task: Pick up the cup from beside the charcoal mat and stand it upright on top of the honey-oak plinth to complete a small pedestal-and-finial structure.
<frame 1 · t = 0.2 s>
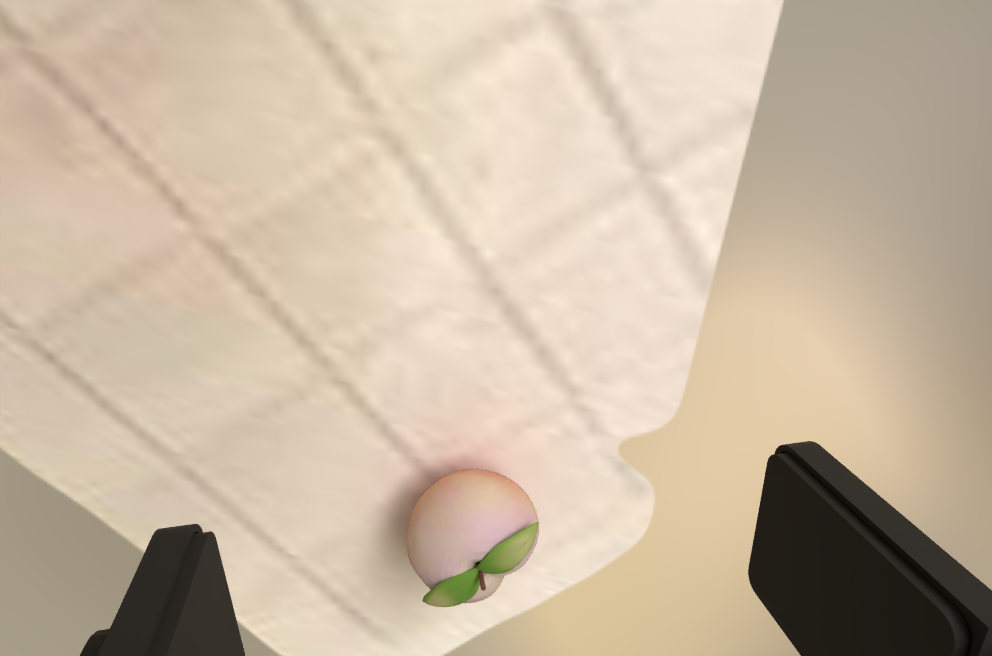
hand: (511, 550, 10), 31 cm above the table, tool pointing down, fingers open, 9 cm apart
decorative fruit: (458, 486, 48), on the table
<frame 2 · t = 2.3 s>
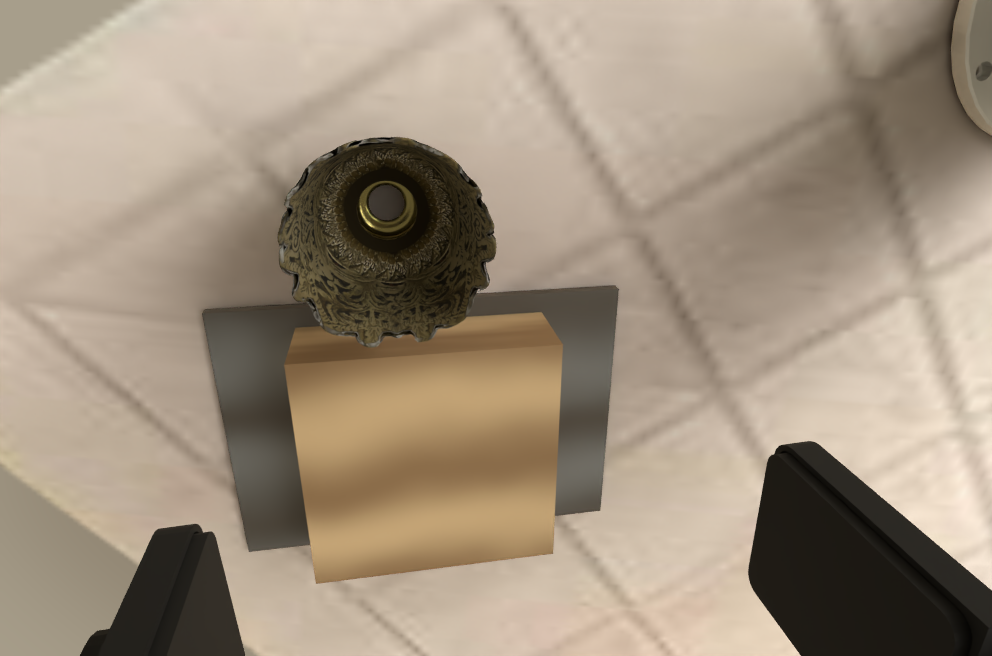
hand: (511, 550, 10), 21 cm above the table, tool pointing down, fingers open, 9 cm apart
cup: (386, 201, 29), on the table
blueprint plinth: (426, 420, 33), on the table
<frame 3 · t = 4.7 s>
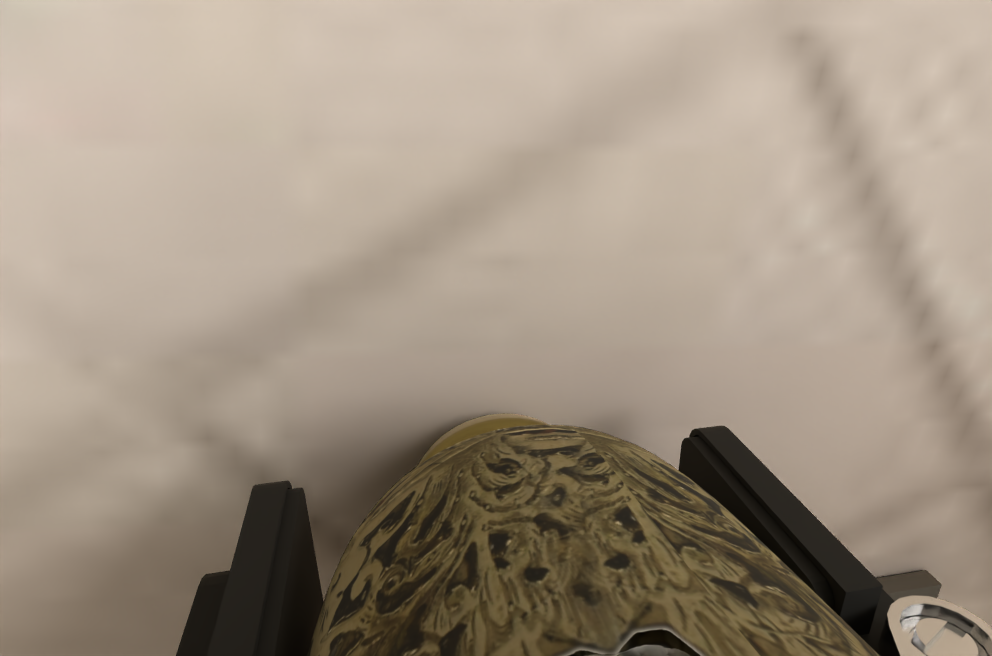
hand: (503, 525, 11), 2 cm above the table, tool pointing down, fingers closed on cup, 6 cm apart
cup: (491, 470, 13), on the table, touching gripper
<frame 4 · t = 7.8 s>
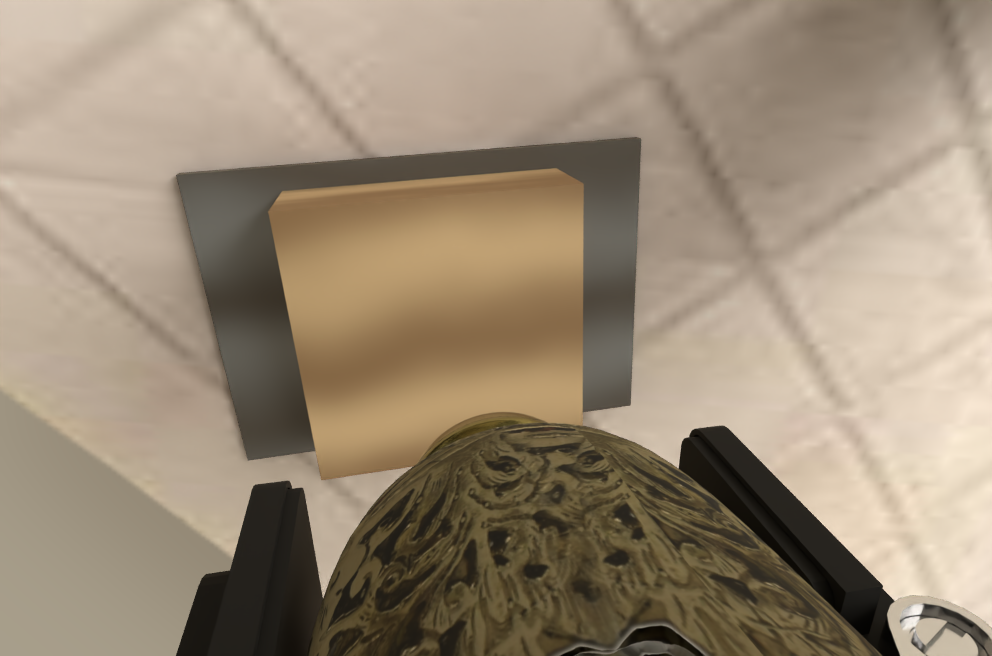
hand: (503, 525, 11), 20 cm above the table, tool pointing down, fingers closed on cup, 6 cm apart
cup: (490, 469, 13), point 18 cm above the table, touching gripper
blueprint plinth: (434, 302, 30), on the table
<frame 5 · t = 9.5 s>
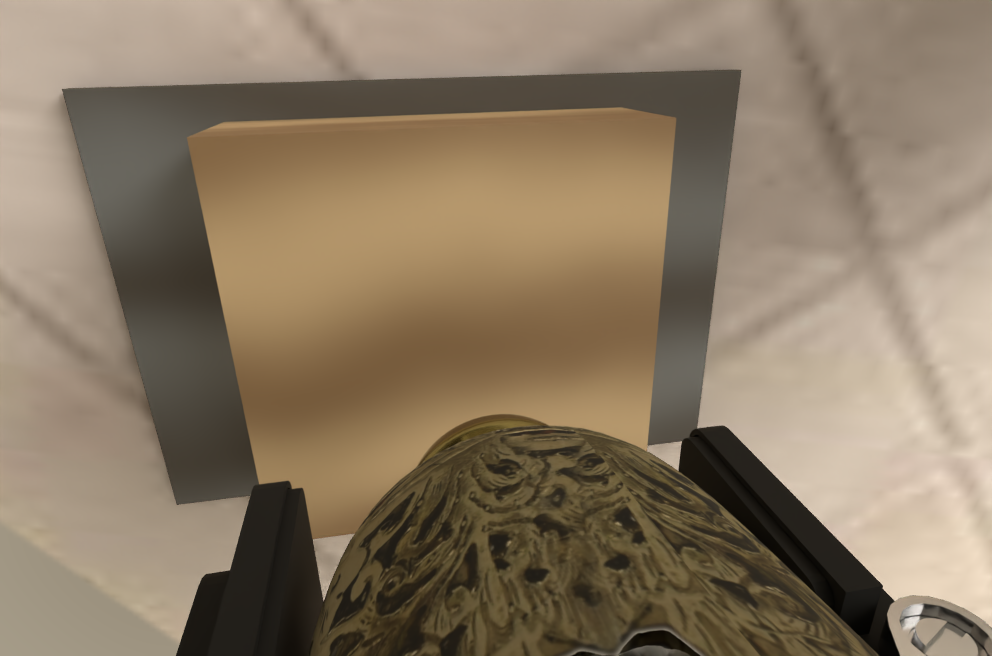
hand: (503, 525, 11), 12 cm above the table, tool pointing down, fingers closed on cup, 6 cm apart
cup: (490, 471, 13), point 10 cm above the table, touching gripper
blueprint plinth: (441, 294, 22), on the table
when the fingers open (7 cm above the table, at t = 10.8 s): cup drops 1 cm, resting on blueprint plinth.
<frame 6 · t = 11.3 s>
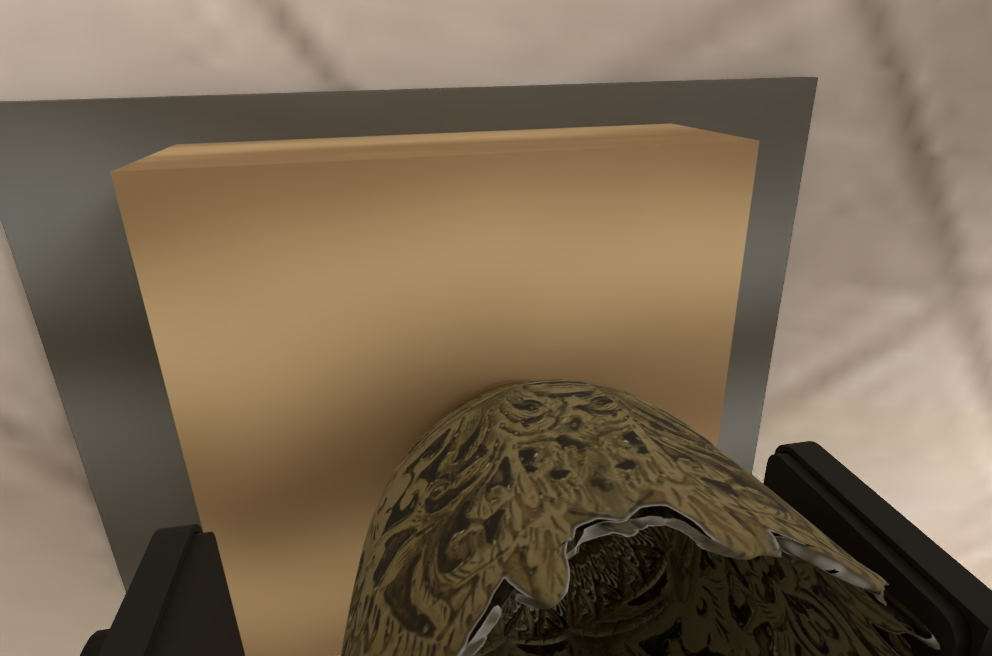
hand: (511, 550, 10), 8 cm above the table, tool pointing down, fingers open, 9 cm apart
cup: (507, 434, 14), point 4 cm above the table, touching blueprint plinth, gripper
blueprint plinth: (449, 349, 18), on the table
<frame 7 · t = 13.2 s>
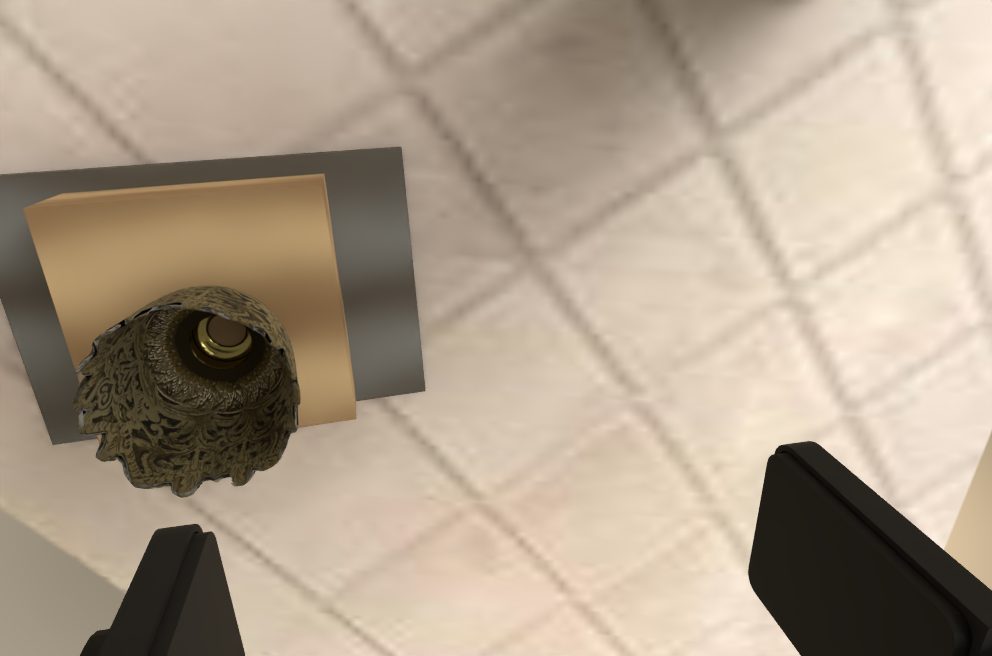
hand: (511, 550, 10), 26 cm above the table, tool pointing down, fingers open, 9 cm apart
cup: (228, 327, 30), point 4 cm above the table, touching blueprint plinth
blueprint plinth: (225, 296, 33), on the table
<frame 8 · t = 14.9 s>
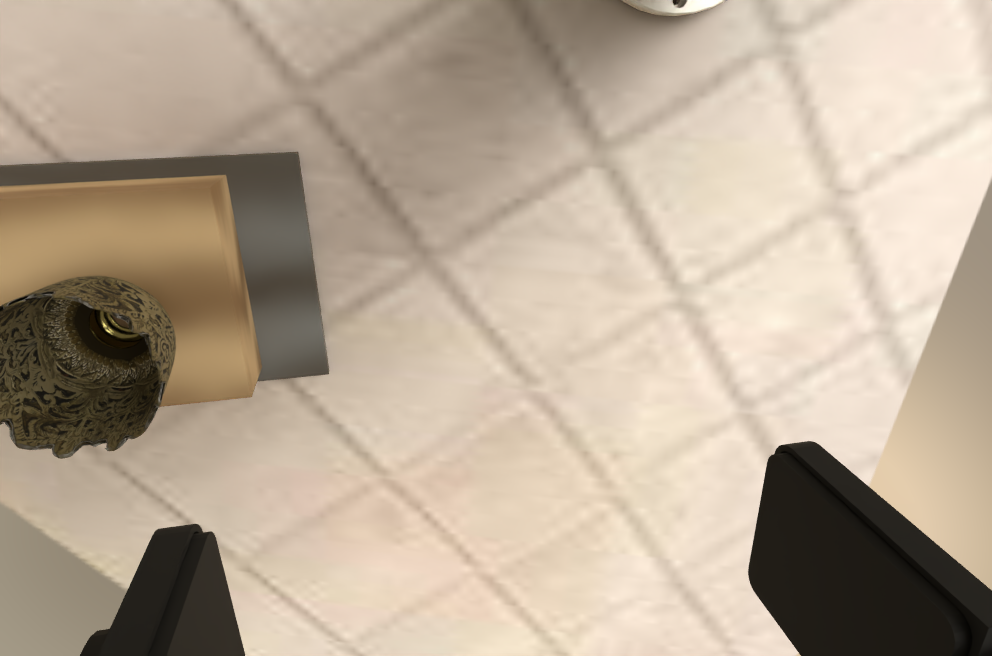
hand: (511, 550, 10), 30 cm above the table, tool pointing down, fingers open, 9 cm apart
cup: (130, 311, 33), point 4 cm above the table, touching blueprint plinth
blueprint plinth: (140, 282, 37), on the table
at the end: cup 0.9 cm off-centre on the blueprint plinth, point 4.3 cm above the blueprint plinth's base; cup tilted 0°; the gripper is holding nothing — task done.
